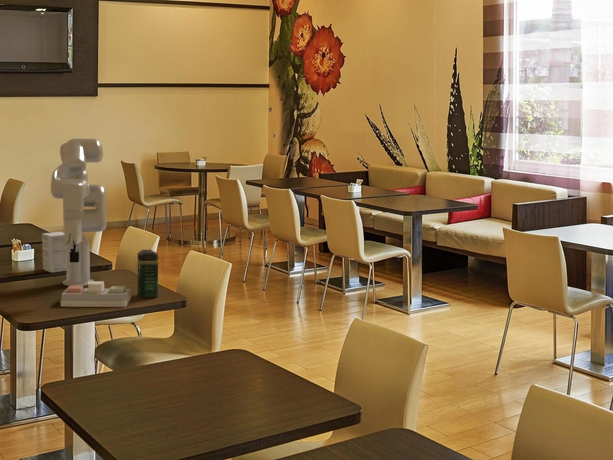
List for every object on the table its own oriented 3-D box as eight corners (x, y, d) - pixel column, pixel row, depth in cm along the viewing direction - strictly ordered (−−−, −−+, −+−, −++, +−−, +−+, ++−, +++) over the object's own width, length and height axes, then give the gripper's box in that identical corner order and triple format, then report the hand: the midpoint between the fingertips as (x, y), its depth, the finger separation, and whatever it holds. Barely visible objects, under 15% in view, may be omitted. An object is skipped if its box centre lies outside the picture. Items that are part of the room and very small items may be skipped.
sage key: (112, 294, 319) (112, 285, 318) (125, 294, 319) (125, 286, 319) (109, 297, 314) (109, 288, 313) (123, 297, 314) (123, 288, 314)
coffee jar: (159, 298, 326) (159, 252, 323) (139, 299, 323) (139, 252, 321) (156, 293, 335) (155, 247, 332) (136, 294, 332) (136, 248, 330)
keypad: (68, 298, 322) (68, 287, 321) (130, 299, 323) (130, 287, 323) (60, 306, 309) (60, 294, 308) (125, 306, 311) (125, 295, 310)
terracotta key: (70, 294, 318) (69, 285, 317) (83, 294, 318) (83, 285, 318) (67, 297, 313) (66, 288, 312) (80, 297, 313) (80, 288, 313)
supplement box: (62, 267, 383) (61, 231, 381) (70, 270, 376) (70, 234, 374) (42, 269, 377) (41, 233, 375) (50, 272, 370) (49, 235, 368)
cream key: (91, 290, 318) (90, 281, 317) (104, 290, 318) (104, 281, 318) (88, 293, 313) (88, 284, 313) (101, 293, 313) (101, 284, 313)
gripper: (67, 211, 319) (68, 257, 322) (58, 217, 304) (59, 266, 307) (87, 211, 319) (88, 258, 322) (79, 217, 305) (80, 266, 308)
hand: (74, 261), depth 315 cm, fingers closed
